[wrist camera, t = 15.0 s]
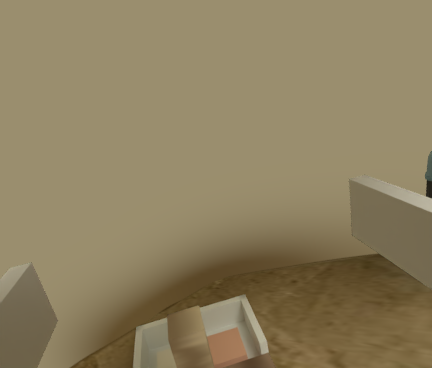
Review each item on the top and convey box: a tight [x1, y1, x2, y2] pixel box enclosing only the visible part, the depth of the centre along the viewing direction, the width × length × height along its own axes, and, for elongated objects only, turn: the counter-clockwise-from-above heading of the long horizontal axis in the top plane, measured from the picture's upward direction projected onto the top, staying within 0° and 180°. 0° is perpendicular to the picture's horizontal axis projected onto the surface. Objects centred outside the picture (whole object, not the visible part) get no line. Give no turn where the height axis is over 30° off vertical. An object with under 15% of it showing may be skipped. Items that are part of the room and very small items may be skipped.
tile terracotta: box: [207, 327, 248, 368], centre depth 41 cm, size 5×5×3 cm
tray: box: [133, 294, 269, 368], centre depth 43 cm, size 18×10×5 cm, turn 101°
